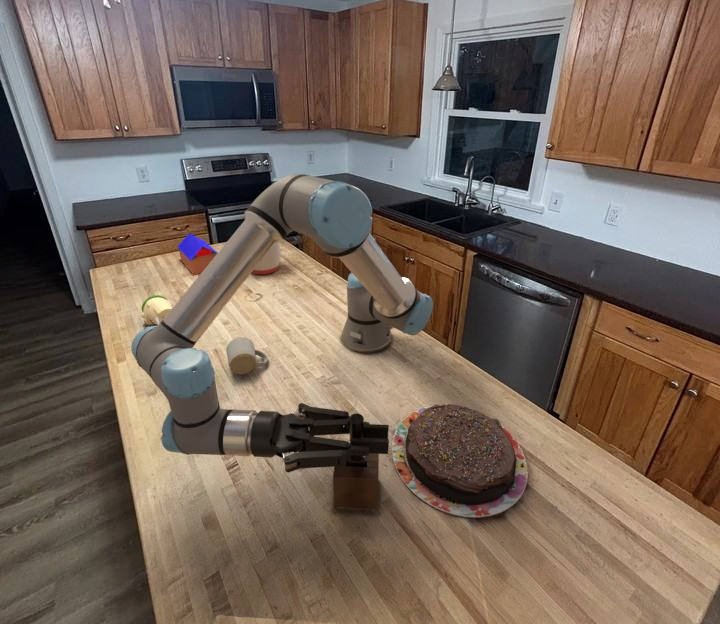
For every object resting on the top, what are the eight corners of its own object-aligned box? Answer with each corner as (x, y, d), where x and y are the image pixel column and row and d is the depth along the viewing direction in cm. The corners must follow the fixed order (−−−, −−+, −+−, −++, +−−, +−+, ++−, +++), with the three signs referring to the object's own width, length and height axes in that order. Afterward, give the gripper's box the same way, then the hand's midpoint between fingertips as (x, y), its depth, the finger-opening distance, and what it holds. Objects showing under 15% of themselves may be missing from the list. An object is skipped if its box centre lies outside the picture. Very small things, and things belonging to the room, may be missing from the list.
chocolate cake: (388, 406, 96) (389, 385, 93) (503, 409, 95) (507, 388, 92) (394, 520, 70) (395, 495, 67) (550, 525, 69) (558, 501, 67)
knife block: (334, 510, 72) (332, 477, 68) (337, 481, 77) (336, 448, 73) (377, 513, 71) (378, 479, 68) (377, 483, 77) (378, 450, 73)
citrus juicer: (235, 270, 168) (229, 225, 160) (270, 259, 179) (266, 217, 170) (253, 281, 158) (247, 235, 149) (289, 269, 168) (286, 225, 160)
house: (193, 275, 163) (188, 249, 158) (180, 260, 177) (175, 236, 172) (221, 268, 170) (217, 243, 165) (206, 254, 184) (202, 230, 179)
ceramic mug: (231, 379, 104) (227, 356, 101) (227, 361, 111) (224, 339, 108) (270, 370, 108) (268, 347, 105) (265, 353, 115) (263, 331, 112)
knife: (348, 498, 73) (347, 423, 65) (349, 486, 75) (348, 412, 67) (364, 499, 73) (365, 424, 65) (364, 487, 75) (365, 413, 67)
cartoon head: (164, 341, 124) (145, 315, 138) (187, 320, 127) (166, 296, 140) (143, 327, 118) (126, 301, 132) (168, 305, 121) (148, 281, 134)
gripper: (268, 416, 77) (387, 421, 76) (243, 487, 63) (388, 495, 62) (265, 386, 74) (388, 391, 73) (237, 455, 60) (390, 462, 59)
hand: (388, 439), depth 68 cm, fingers closed on knife, 2 cm apart
